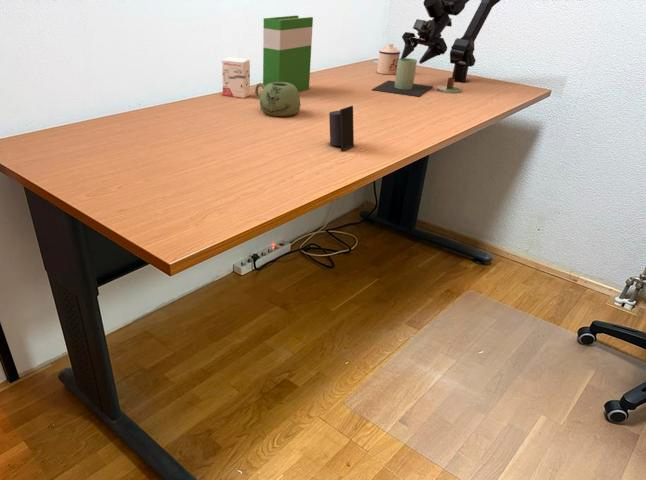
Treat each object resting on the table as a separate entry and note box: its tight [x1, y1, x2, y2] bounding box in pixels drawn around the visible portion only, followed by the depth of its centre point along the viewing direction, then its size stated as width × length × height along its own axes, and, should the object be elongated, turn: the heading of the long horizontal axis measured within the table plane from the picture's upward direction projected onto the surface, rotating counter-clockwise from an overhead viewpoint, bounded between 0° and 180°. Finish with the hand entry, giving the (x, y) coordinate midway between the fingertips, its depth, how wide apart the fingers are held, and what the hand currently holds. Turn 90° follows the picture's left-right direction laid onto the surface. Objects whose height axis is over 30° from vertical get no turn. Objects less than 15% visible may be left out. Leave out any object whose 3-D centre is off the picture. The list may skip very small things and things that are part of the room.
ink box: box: [221, 56, 251, 99], centre depth 172 cm, size 9×5×12 cm, turn 68°
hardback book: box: [262, 15, 314, 92], centre depth 178 cm, size 18×7×24 cm, turn 140°
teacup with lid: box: [376, 43, 401, 76], centre depth 217 cm, size 12×9×12 cm
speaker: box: [328, 105, 355, 152], centre depth 130 cm, size 8×6×10 cm
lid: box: [437, 77, 462, 94], centre depth 192 cm, size 9×9×4 cm
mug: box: [254, 82, 301, 117], centre depth 156 cm, size 16×13×9 cm
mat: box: [371, 80, 433, 98], centre depth 193 cm, size 20×18×1 cm
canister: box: [394, 57, 418, 90], centre depth 191 cm, size 7×7×10 cm
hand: (410, 60), depth 189 cm, fingers open, 9 cm apart
